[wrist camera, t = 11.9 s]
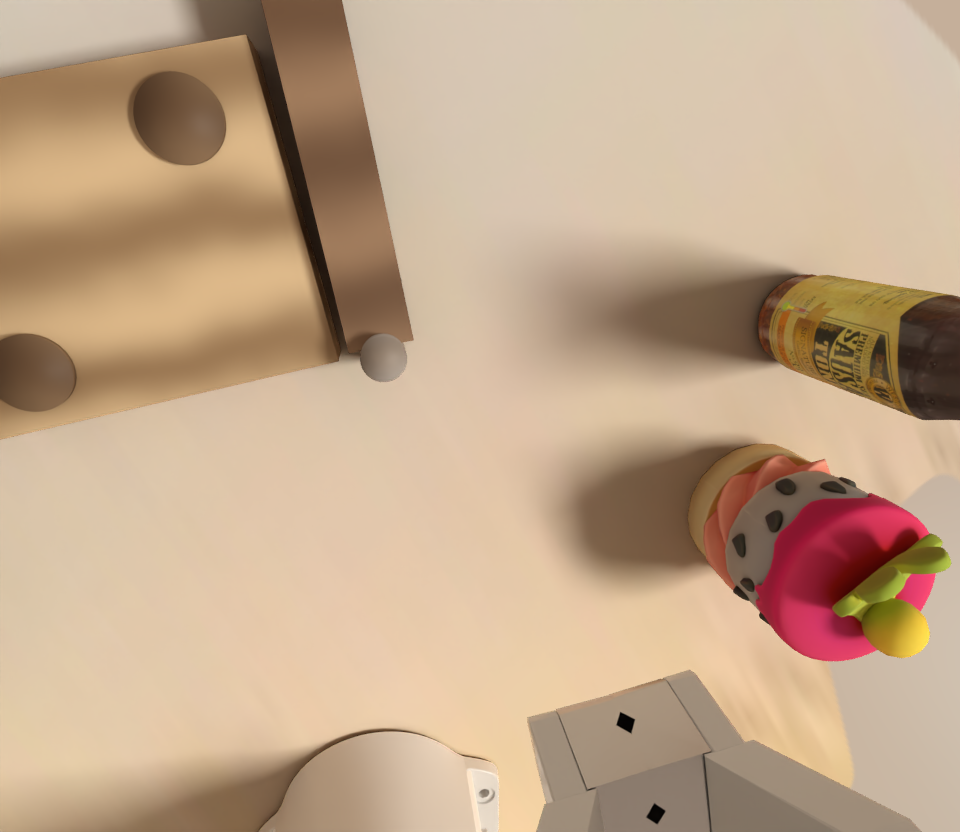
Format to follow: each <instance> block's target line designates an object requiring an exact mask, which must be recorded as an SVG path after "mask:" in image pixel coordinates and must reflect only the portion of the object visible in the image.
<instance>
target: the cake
mask: <svg viewBox="0 0 960 832" xmlns="http://www.w3.org/2000/svg"><path fill="white" fill-rule="evenodd" d="M687 516H688V524H689V532H690V535H691V537H692V539H693V541H694V543H695V544H696V546H697V548H698V549H699V550H700V551H701V552H702V553H703V554H704V555H705V556H706V557H707V562H708V563H709V564H710V565H711V566H712V568H713V569H714V570H715V571H716V572H717V574H718V575H719V576H720V577H721V578H722V579H723V580H724V582H725V583H726V584H727V585H728V586H729V587H730V588H731V589H732V590H733V592H734V593H735V594H736V595H738V596H739V597H741V598H742V599H745V600H747V601H750V602H751V603H752V604H753V605H754V606H755V607H756V608H757V609H758V610H759V611H760V614H759V617H760V618H761V619H762V620H763V621H765V622H766V623H768V624H769V625H770V626H771V627H772V628H773V629H774V631H775V632H776V633H777V634H778V636H779V637H780V638H781V639H782V640H783V641H784V642H785V643H787V644H788V645H789V646H790V647H791V648H792V649H794V650H795V651H797V652H799V653H800V654H802V655H804V656H807V657H810V658H813V659H817V660H822V661H844V660H849V659H854V658H858V657H862V656H864V655H867V654H869V653H871V652H874V651H876V650H879V651H881V652H883V653H884V654H886V655H888V656H894V657H899V658H905V657H911V656H912V655H915V654H917V653H919V652H920V651H921V650H922V649H923V648H924V647H925V646H926V644H927V643H928V640H929V635H930V632H929V628H928V625H927V622H926V618H925V617H924V616H923V615H922V614H921V613H920V611H921V610H922V608H923V606H924V605H925V603H926V601H927V599H928V597H929V595H930V592H931V589H932V586H933V583H934V579H935V574H936V573H938V572H941V571H944V570H946V569H947V568H949V567H950V565H951V560H950V558H949V555H948V553H947V552H946V551H945V550H944V549H943V548H941V546H942V541H941V539H940V538H939V537H937V536H936V535H933V534H929V532H928V531H927V529H926V528H925V526H924V525H923V524H922V523H921V522H920V521H919V520H918V519H917V518H916V517H915V516H913V515H912V514H911V513H909V512H908V511H906V510H904V509H903V508H901V507H899V506H897V505H896V504H894V503H892V502H890V501H888V500H886V499H884V498H881V497H879V496H877V495H874V494H872V493H869V494H867V493H866V492H864V491H862V490H860V489H858V488H857V487H856V484H855V482H853V481H851V480H849V479H846V478H843V477H840V478H837V477H835V476H832V475H831V474H830V472H829V469H828V466H827V463H826V461H825V459H823V460H819V461H815V462H812V463H811V462H810V461H808V460H806V459H804V458H802V457H800V456H799V455H797V454H795V453H793V452H791V451H789V450H787V449H784V448H782V447H779V446H777V445H773V444H753V445H750V446H746V447H743V448H739V449H736V450H734V451H732V452H731V453H729V454H727V455H726V456H724V457H723V458H721V459H719V460H718V461H716V462H715V463H714V464H713V466H712V467H711V468H710V469H709V470H708V471H707V472H706V473H705V474H704V475H703V476H702V477H701V479H700V481H699V483H698V485H697V487H696V488H695V490H694V492H693V494H692V496H691V501H690V506H689V510H688V515H687Z"/></svg>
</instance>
